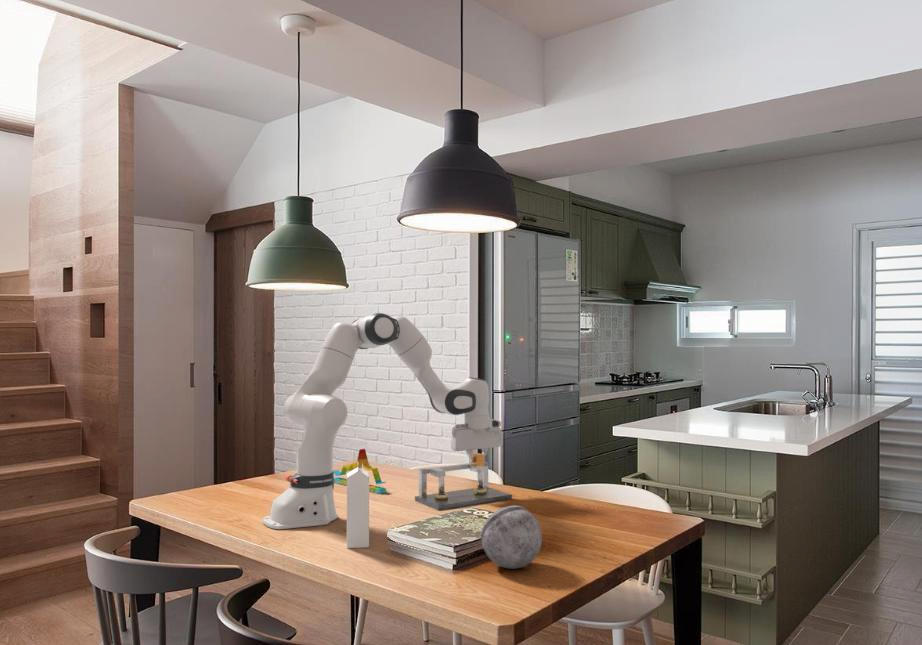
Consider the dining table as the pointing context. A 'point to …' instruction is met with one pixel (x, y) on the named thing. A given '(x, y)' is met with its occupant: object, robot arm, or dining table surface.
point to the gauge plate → (460, 496)
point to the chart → (361, 459)
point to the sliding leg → (478, 467)
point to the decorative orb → (511, 537)
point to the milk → (357, 509)
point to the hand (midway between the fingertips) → (477, 461)
